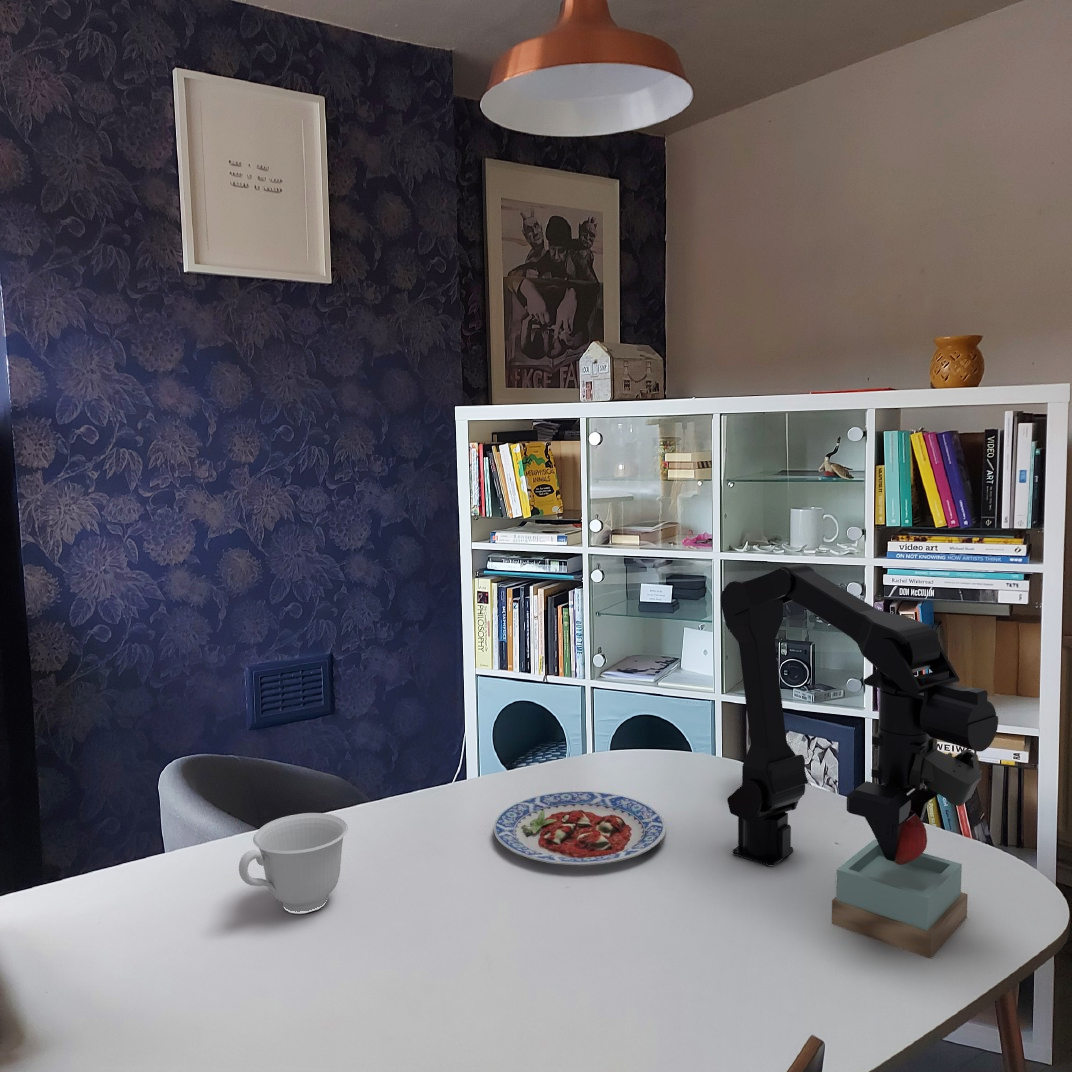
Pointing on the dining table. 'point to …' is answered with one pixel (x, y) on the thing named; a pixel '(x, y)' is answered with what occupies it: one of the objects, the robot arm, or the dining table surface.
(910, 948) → the bottom block
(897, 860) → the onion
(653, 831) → the ceramic plate
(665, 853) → the dining table surface
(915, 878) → the top block
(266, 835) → the teacup
